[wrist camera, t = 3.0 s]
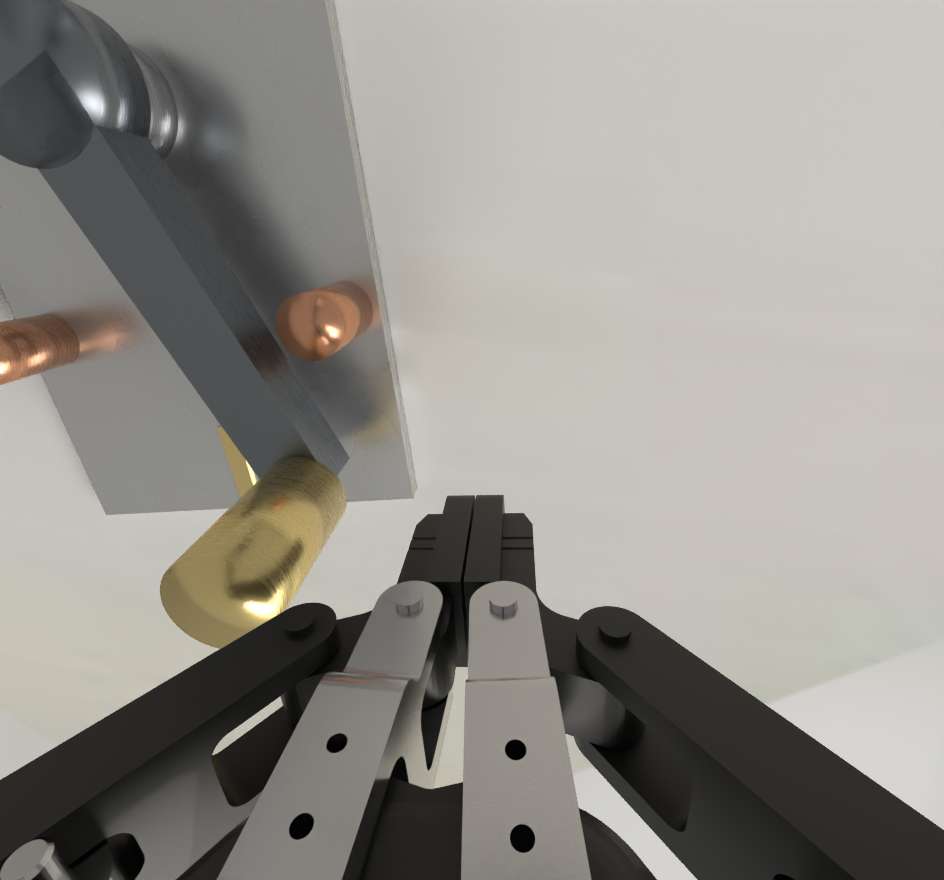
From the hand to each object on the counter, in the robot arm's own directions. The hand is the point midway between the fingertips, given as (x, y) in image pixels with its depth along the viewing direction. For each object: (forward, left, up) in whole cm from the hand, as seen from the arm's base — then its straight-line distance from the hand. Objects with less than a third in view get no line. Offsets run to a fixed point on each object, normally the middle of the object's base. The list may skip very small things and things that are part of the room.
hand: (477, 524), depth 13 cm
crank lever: (-2, -10, -3) cm, 10 cm away
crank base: (-2, -11, -6) cm, 13 cm away
